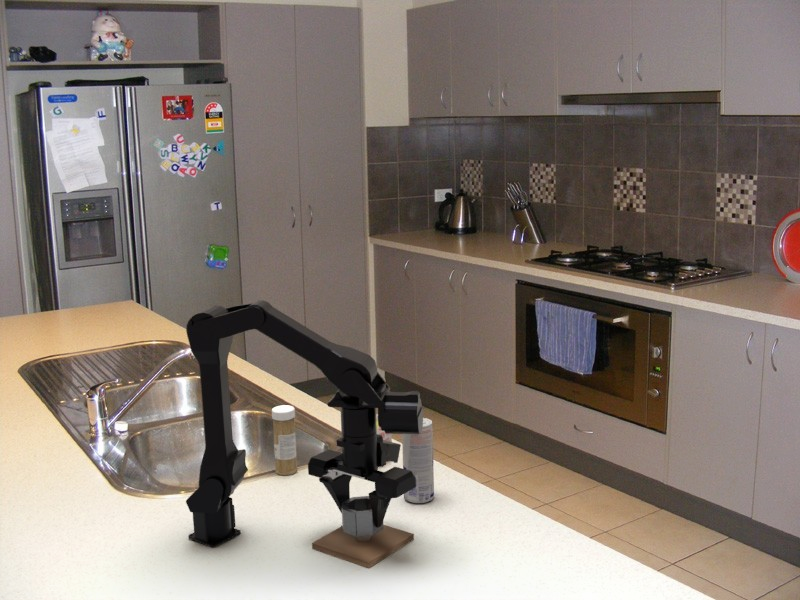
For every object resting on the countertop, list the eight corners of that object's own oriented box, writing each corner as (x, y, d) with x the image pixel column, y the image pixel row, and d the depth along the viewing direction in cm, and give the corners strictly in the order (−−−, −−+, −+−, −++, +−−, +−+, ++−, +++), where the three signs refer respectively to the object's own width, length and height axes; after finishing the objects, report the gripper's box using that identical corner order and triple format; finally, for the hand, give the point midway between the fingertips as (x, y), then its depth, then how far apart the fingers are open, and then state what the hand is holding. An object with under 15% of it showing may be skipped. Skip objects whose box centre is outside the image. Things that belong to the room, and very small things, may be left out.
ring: (365, 539, 147) (364, 516, 146) (334, 529, 151) (333, 506, 150) (390, 524, 152) (390, 502, 151) (360, 515, 156) (359, 493, 155)
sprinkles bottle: (275, 468, 186) (271, 405, 184) (298, 466, 187) (294, 403, 184) (274, 476, 182) (271, 412, 179) (297, 475, 182) (294, 410, 179)
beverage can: (440, 497, 170) (438, 420, 167) (420, 507, 166) (418, 428, 163) (417, 490, 173) (415, 414, 170) (397, 499, 169) (395, 422, 166)
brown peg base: (368, 568, 144) (367, 538, 143) (312, 548, 151) (310, 520, 150) (413, 539, 153) (413, 511, 152) (358, 522, 160) (357, 495, 159)
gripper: (434, 428, 149) (436, 517, 152) (347, 408, 160) (350, 492, 163) (393, 448, 140) (396, 543, 143) (303, 426, 151) (308, 514, 154)
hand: (362, 521), depth 151 cm, fingers closed on ring, 6 cm apart
